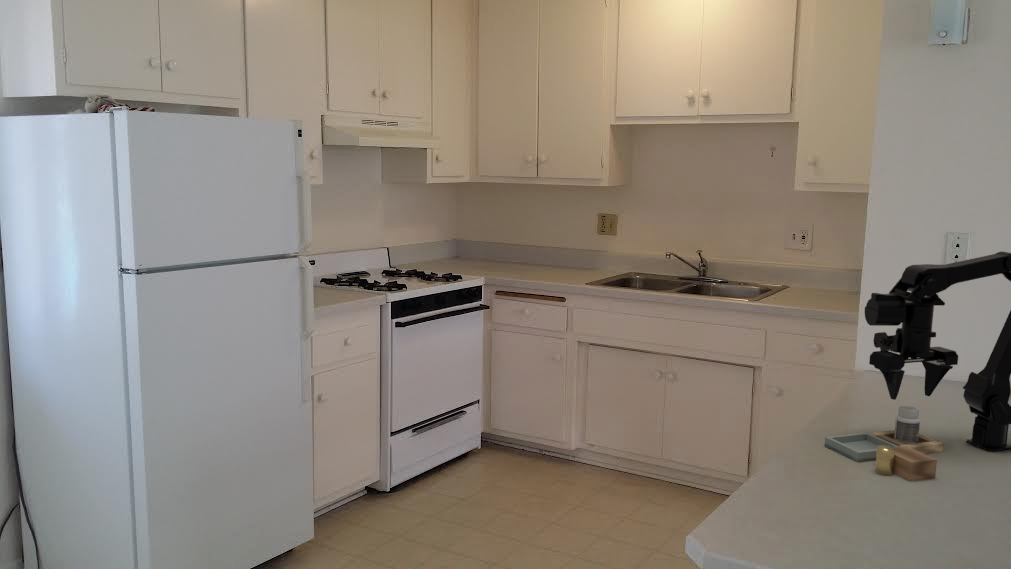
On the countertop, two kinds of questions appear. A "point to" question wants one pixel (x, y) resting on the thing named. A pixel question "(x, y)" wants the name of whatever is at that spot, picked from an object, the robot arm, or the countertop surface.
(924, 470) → the brown cardboard box
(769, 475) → the countertop surface
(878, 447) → the bench dog
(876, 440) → the tray
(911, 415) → the pill bottle
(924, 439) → the socket collar
